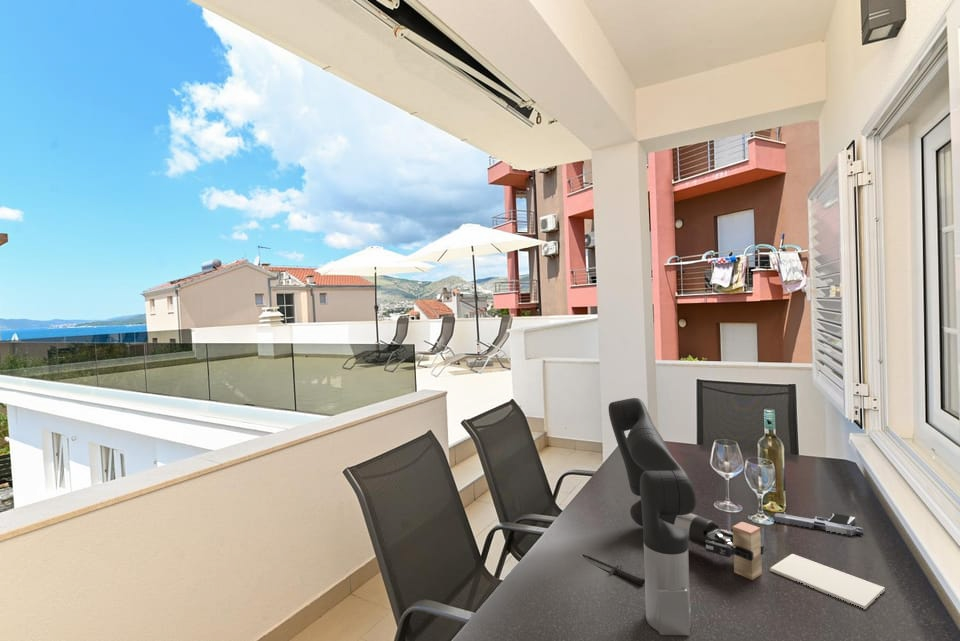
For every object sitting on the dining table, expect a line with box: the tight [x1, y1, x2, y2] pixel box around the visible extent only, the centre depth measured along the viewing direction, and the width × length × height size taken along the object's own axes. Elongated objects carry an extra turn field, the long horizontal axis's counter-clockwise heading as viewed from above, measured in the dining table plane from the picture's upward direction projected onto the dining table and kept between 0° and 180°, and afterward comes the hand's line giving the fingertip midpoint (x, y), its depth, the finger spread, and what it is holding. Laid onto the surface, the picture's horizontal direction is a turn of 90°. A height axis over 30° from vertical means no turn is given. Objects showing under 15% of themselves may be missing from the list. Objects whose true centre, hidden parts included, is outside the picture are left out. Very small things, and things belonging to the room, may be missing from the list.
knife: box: [581, 553, 645, 586], centre depth 128 cm, size 25×2×5 cm
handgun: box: [773, 512, 864, 537], centre depth 149 cm, size 2×22×12 cm
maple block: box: [732, 521, 763, 581], centre depth 122 cm, size 5×5×12 cm
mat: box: [769, 553, 886, 610], centre depth 117 cm, size 20×12×1 cm, turn 33°
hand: (757, 553), depth 120 cm, fingers closed on maple block, 4 cm apart
